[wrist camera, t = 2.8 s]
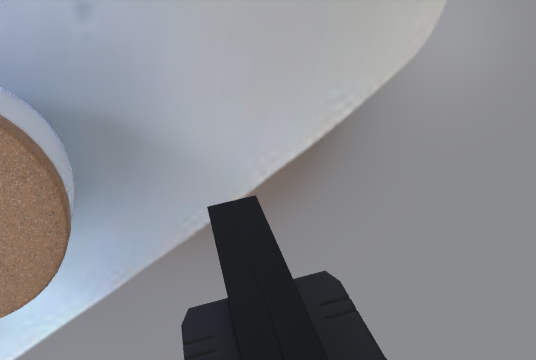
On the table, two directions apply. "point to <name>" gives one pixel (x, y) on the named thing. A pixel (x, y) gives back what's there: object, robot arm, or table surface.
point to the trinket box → (31, 203)
